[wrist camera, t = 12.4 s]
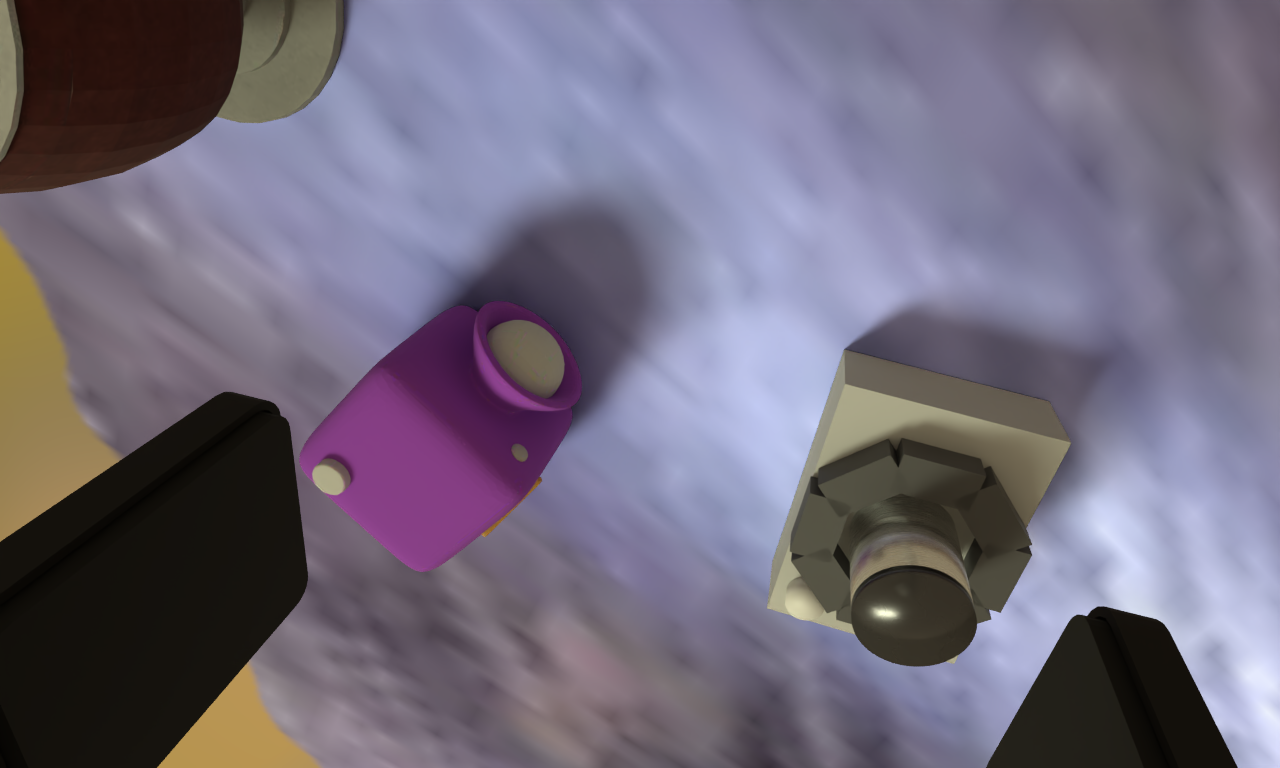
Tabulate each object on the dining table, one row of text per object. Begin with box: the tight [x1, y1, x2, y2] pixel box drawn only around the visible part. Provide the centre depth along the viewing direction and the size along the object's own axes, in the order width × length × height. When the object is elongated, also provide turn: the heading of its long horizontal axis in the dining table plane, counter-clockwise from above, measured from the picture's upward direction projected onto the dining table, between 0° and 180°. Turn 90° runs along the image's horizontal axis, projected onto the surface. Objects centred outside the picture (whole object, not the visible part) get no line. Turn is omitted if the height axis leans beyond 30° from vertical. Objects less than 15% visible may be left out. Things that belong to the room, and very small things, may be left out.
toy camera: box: [299, 301, 582, 572], centre depth 39 cm, size 11×14×10 cm
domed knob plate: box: [767, 349, 1071, 664], centre depth 38 cm, size 14×10×6 cm
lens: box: [849, 494, 977, 666], centre depth 35 cm, size 5×5×6 cm
